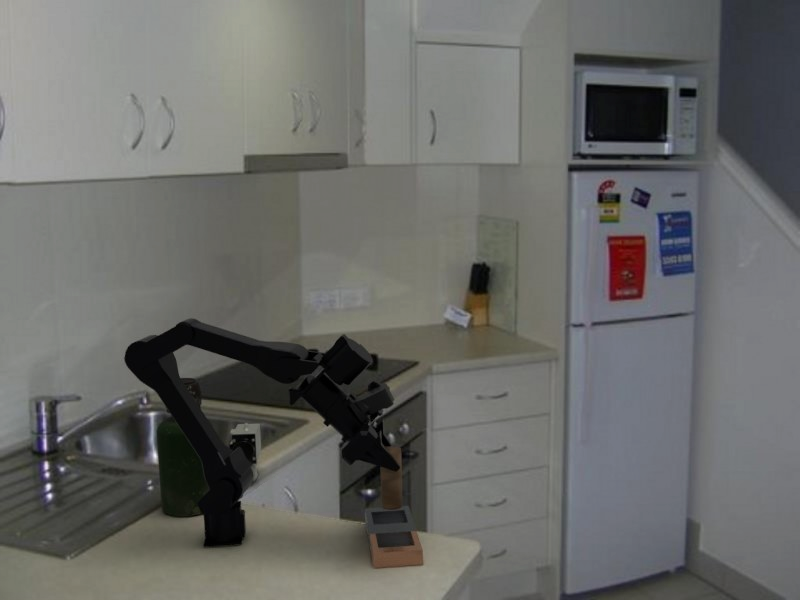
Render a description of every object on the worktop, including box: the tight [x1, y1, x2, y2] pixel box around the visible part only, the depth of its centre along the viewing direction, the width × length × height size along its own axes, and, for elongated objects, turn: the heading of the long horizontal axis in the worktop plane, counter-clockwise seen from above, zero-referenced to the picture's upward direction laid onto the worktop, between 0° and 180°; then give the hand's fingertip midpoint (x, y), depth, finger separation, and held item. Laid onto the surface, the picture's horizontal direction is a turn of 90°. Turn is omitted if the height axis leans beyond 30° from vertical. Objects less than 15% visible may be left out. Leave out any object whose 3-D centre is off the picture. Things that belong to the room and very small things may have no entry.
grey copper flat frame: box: [364, 505, 424, 569], centre depth 157 cm, size 8×20×2 cm, turn 6°
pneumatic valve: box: [228, 422, 262, 482], centre depth 191 cm, size 6×12×12 cm, turn 2°
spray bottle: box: [156, 377, 214, 517], centre depth 174 cm, size 10×10×25 cm
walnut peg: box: [379, 445, 404, 510], centre depth 155 cm, size 4×4×10 cm
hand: (399, 465), depth 155 cm, fingers closed on walnut peg, 4 cm apart
